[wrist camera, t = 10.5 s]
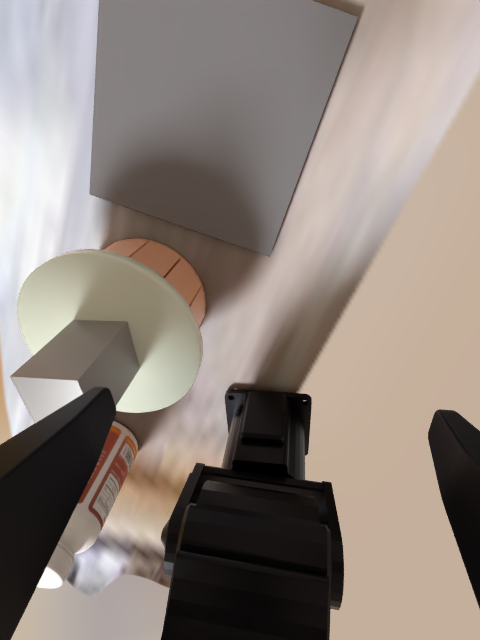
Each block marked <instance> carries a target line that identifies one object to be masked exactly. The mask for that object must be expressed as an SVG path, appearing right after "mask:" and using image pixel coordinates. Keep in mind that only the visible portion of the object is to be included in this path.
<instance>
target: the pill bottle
mask: <svg viewBox="0 0 480 640" xmlns="http://www.w3.org/2000/svg"><path fill="white" fill-rule="evenodd" d="M137 452H138V444H137V441H136V438H135V437H134V435H133V434H132V433H131V432H130V431H129V430H128V429H127V428H126V427H124V426H123V425H121V424H119V423H117V422H115V421H113V423H112V426H111V429H110V432H109V434H108V437H107V440H106V442H105V445H104V448H103V450H102V453H101V456H100V458H99V460H98V463H97V465H96V467H95V469H94V471H93V473H92V475H91V477H90V480H89V482H88V484H87V486H86V488H85V490H84V492H83V494H82V496H81V498H80V500H79V502H78V504H77V506H76V508H75V510H74V512H73V514H72V516H71V518H70V520H69V522H68V524H67V526H66V528H65V530H64V532H63V534H62V536H61V538H60V540H59V542H58V544H57V546H56V548H55V550H54V552H53V555H52V557H51V559H50V561H49V563H48V565H47V567H46V569H45V571H44V573H43V575H42V577H41V579H40V581H39V583H38V585H37V587H40V588H58V587H60V586H61V585H62V584H63V583H64V581H65V579H66V577H67V575H68V573H69V571H70V569H71V567H72V564H73V563H74V554H78V553H81V552H83V551H85V550H87V549H88V548H90V547H91V546H92V545H93V544H94V542H95V541H96V539H97V537H98V535H99V533H100V531H101V529H102V527H103V525H104V523H105V521H106V518H107V516H108V514H109V512H110V510H111V508H112V506H113V504H114V502H115V499H116V497H117V495H118V493H119V491H120V489H121V487H122V485H123V483H124V481H125V478H126V476H127V474H128V472H129V470H130V468H131V466H132V464H133V462H134V460H135V457H136V455H137Z"/></svg>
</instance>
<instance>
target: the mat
mask: <svg viewBox="0 0 480 640" xmlns="http://www.w3.org/2000/svg"><path fill="white" fill-rule="evenodd" d="M357 19H358V17H357V16H354V15H351V14H349V13H346V12H343V11H340V10H338V9H335V8H332V7H329V6H327V5H324V4H321V3H319V2H316V1H313V0H99V12H98V33H97V53H96V74H95V94H94V115H93V135H92V156H91V176H90V195H93V196H96V197H99V198H102V199H105V200H108V201H110V202H113V203H116V204H119V205H122V206H125V207H128V208H131V209H134V210H136V211H139V212H142V213H145V214H148V215H151V216H154V217H157V218H160V219H162V220H165V221H168V222H171V223H174V224H177V225H180V226H183V227H186V228H188V229H191V230H194V231H197V232H200V233H203V234H206V235H209V236H212V237H214V238H217V239H220V240H223V241H226V242H229V243H232V244H235V245H238V246H240V247H243V248H246V249H249V250H252V251H255V252H258V253H261V254H264V255H266V256H269V257H270V254H271V251H272V249H273V246H274V243H275V241H276V238H277V235H278V232H279V230H280V227H281V224H282V222H283V219H284V216H285V214H286V211H287V208H288V205H289V203H290V200H291V197H292V195H293V192H294V189H295V186H296V184H297V181H298V178H299V176H300V173H301V170H302V168H303V165H304V162H305V159H306V157H307V154H308V151H309V149H310V146H311V143H312V140H313V138H314V135H315V132H316V130H317V127H318V124H319V122H320V119H321V116H322V113H323V111H324V108H325V105H326V103H327V100H328V97H329V94H330V92H331V89H332V86H333V84H334V81H335V78H336V76H337V73H338V70H339V67H340V65H341V62H342V59H343V57H344V54H345V51H346V48H347V46H348V43H349V40H350V38H351V35H352V32H353V30H354V27H355V24H356V21H357Z"/></svg>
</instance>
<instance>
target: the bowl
mask: <svg viewBox="0 0 480 640" xmlns="http://www.w3.org/2000/svg"><path fill="white" fill-rule="evenodd" d="M103 250H104V251H110V252H115V253H118V254H121V255H124V256H128V257H130V258H132V259H134V260H137V261H139V262H141V263H143V264H144V265H146V266H148V267H150V268H151V269H153V270H154V271H156V272H157V273H158V274H160V275H161V276H162V277H164V278H165V279H166V280H167V281H168V282H169V283H170V284H171V285H173V286H174V287H175V288H176V290H177V291H178V292H179V293H180V294H181V295H182V296H183V298H184V299H185V301H186V302H187V304H188V305H189V306H190V308H191V310H192V312H193V314H194V316H195V317H196V320H197V322H198V325H199V327H200V325H201V323H202V321H203V319H204V317H205V308H206V297H205V292H204V288H203V285H202V282H201V280H200V278H199V276H198V274H197V273H196V271H195V270H194V268H193V267H192V266H191V265H190V263H189V262H188V261H187V260H186V259H185V258H184V257H183V256H181V255H180V254H179V253H178V252H176V251H175V250H173V249H172V248H170V247H168V246H166V245H164V244H162V243H159V242H156V241H153V240H149V239H143V238H131V239H125V240H120V241H116V242H113V243H112V244H110V245H109V246H107V247H106V248H104V249H103Z"/></svg>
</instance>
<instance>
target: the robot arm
mask: <svg viewBox="0 0 480 640" xmlns="http://www.w3.org/2000/svg"><path fill="white" fill-rule="evenodd" d="M230 395H232V396H233V397H232V396H230ZM303 400H306V401H303ZM225 404H226V413H227V423H228V432H229V436H228V441H227V445H226V450H225V454H224V458H223V463H222V467H221V468H219V467H212V466H205V464H202V463H196V465H195V467H194V470H193V472H192V473H190V475H189V477H188V479H187V482H186V484H185V486H184V488H183V490H182V493H181V495H180V497H179V499H178V502H177V504H176V506H175V508H174V511H173V513H172V515H171V517H170V519H169V521H168V522H167V524H166V525H165V527H164V528H163V531H162V535H161V541H162V543H163V545H164V547H165V559H164V574H165V576H166V577H168V578H171V584H170V590H169V596H168V602H167V608H166V615H165V621H164V627H163V632H162V637H161V640H329V633H330V609H336V610H339V608H340V606H341V602H342V596H343V581H344V559H343V545H342V537H341V531H340V526H339V522H338V516H337V511H336V505H335V500H334V495H333V490H332V484H331V482H324V481H322V483H321V482H314V481H307V480H305V455H307V454H308V446H309V431H310V418H311V397H310V396H309V395H307V394H299V393H283V392H268V391H252V390H236V389H229V390H227V391H226V394H225ZM115 415H116V405H115V402H114V399H113V396H112V393H111V390H110V389H109V388H107V387H93V388H92V389H90V390H88V391H87V392H85V393H84V394H82V395H80V396H79V397H77V398H75V399H74V400H72V401H71V402H69V403H67V404H66V405H64V406H62V407H61V408H59V409H58V410H56V411H54V412H53V413H51V414H49V415H48V416H46V417H45V418H43V419H41V420H40V421H38V422H36V423H35V424H33V425H32V426H30V427H28V428H27V429H25V430H23V431H22V432H20V433H19V434H17V435H15V436H14V437H12V438H11V439H9V440H7V441H6V442H4V443H2V444H1V445H0V640H11V638H12V636H13V633H14V631H15V629H16V627H17V625H18V623H19V621H20V619H21V617H22V615H23V613H24V611H25V609H26V607H27V605H28V603H29V601H30V599H31V597H32V595H33V593H34V591H35V589H36V587H37V585H38V583H39V581H40V579H41V577H42V575H43V573H44V571H45V569H46V567H47V565H48V563H49V561H50V559H51V557H52V555H53V552H54V550H55V548H56V546H57V544H58V542H59V540H60V538H61V536H62V534H63V532H64V530H65V528H66V526H67V524H68V522H69V520H70V518H71V516H72V514H73V512H74V510H75V508H76V506H77V504H78V502H79V500H80V498H81V496H82V494H83V492H84V490H85V488H86V486H87V484H88V482H89V480H90V477H91V475H92V473H93V471H94V469H95V467H96V465H97V463H98V460H99V458H100V456H101V453H102V450H103V448H104V445H105V442H106V440H107V437H108V434H109V432H110V429H111V426H112V423H113V421H114V418H115ZM428 440H429V445H430V449H431V453H432V458H433V462H434V467H435V471H436V475H437V480H438V485H439V489H440V493H441V497H442V500H443V504H444V507H445V510H446V513H447V516H448V519H449V521H450V524H451V527H452V530H453V533H454V536H455V539H456V542H457V544H458V547H459V550H460V553H461V556H462V559H463V562H464V565H465V567H466V571H467V573H468V576H469V579H470V582H471V585H472V588H473V590H474V594H475V597H476V599H477V602H478V605H479V608H480V431H479V430H478V429H477V428H475V427H474V426H473V425H471V424H470V423H469V422H468V421H467V420H466V419H464V418H463V417H462V416H461V415H460V414H458V413H457V412H455V411H453V410H437V411H436V412H435V414H434V417H433V420H432V423H431V426H430V429H429V432H428Z"/></svg>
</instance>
